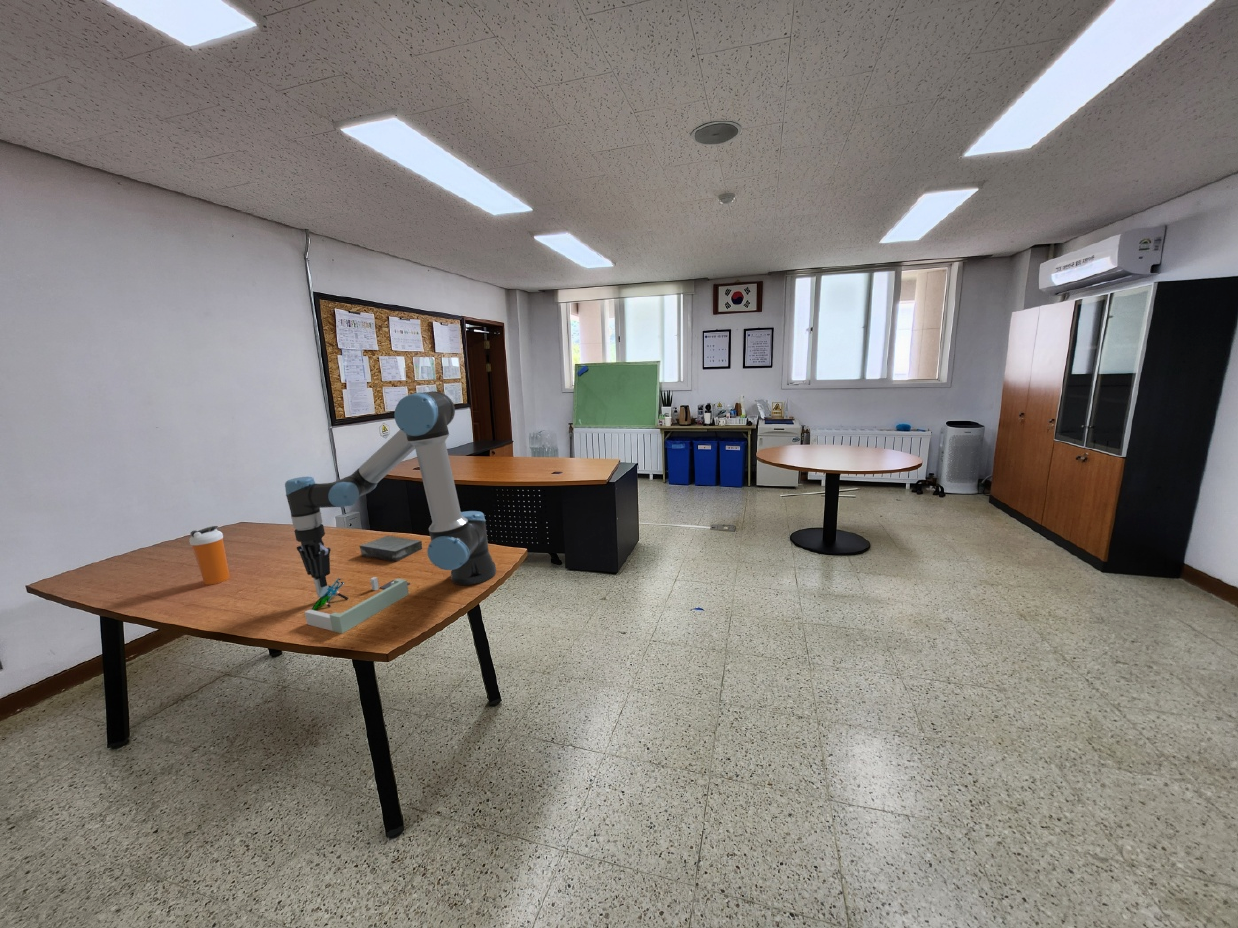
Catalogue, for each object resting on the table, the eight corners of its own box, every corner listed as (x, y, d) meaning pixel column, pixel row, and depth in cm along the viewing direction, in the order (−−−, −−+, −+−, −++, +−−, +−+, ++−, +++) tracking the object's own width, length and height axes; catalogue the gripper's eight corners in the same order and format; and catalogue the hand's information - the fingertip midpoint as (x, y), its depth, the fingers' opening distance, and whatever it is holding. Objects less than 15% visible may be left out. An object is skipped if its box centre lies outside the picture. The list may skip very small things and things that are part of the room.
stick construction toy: (335, 586, 147) (339, 572, 143) (354, 596, 148) (358, 583, 144) (306, 614, 137) (310, 600, 133) (327, 624, 137) (331, 611, 133)
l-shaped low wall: (399, 592, 145) (397, 581, 144) (332, 630, 124) (330, 618, 123) (376, 587, 149) (374, 576, 148) (307, 624, 128) (304, 611, 128)
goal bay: (408, 594, 143) (406, 580, 142) (342, 633, 123) (339, 617, 122) (399, 592, 145) (397, 578, 144) (332, 630, 124) (329, 614, 123)
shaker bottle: (238, 577, 164) (225, 526, 159) (208, 588, 156) (194, 534, 152) (225, 573, 167) (213, 523, 163) (195, 584, 159) (181, 532, 155)
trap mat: (410, 583, 151) (410, 583, 151) (397, 591, 146) (397, 590, 146) (393, 580, 154) (393, 579, 154) (379, 588, 149) (379, 587, 149)
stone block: (396, 563, 170) (394, 550, 169) (360, 557, 177) (358, 545, 176) (424, 549, 182) (422, 538, 181) (389, 544, 189) (387, 533, 188)
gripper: (334, 524, 138) (348, 592, 143) (307, 520, 143) (321, 587, 148) (310, 532, 131) (325, 604, 136) (282, 528, 136) (298, 598, 141)
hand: (323, 595), depth 142 cm, fingers closed
